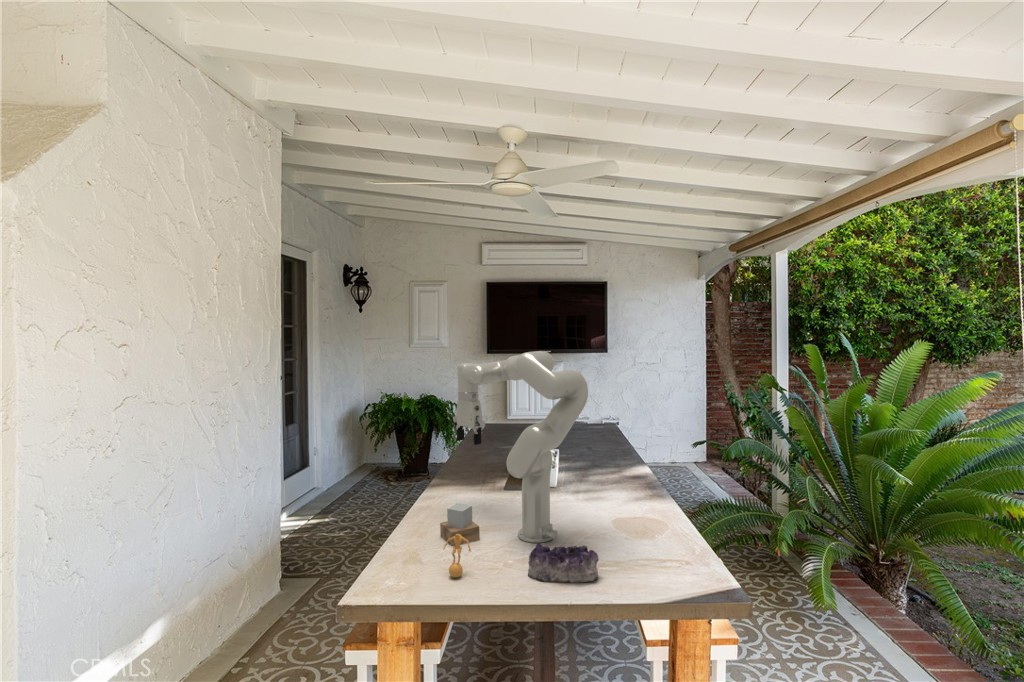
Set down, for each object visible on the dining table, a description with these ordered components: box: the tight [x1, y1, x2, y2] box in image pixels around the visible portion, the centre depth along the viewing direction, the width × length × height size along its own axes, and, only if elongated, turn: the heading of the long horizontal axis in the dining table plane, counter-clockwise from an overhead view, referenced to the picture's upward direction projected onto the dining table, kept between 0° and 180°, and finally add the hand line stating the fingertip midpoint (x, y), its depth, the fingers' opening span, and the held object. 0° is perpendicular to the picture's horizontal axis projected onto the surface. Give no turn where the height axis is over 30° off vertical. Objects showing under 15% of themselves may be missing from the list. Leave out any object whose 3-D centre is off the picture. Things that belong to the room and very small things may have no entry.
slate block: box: [446, 502, 473, 529], centre depth 191 cm, size 6×6×6 cm
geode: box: [527, 543, 600, 584], centre depth 162 cm, size 20×12×10 cm, turn 91°
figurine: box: [443, 534, 472, 579], centre depth 164 cm, size 8×6×12 cm
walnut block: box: [439, 520, 481, 547], centre depth 191 cm, size 10×10×5 cm
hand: (469, 442), depth 209 cm, fingers open, 9 cm apart
